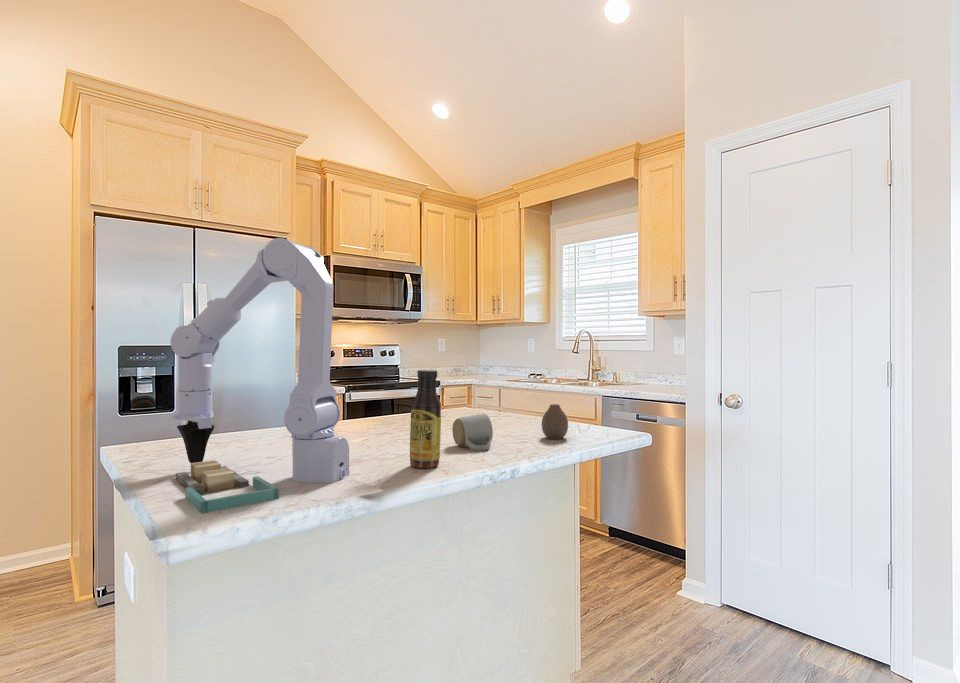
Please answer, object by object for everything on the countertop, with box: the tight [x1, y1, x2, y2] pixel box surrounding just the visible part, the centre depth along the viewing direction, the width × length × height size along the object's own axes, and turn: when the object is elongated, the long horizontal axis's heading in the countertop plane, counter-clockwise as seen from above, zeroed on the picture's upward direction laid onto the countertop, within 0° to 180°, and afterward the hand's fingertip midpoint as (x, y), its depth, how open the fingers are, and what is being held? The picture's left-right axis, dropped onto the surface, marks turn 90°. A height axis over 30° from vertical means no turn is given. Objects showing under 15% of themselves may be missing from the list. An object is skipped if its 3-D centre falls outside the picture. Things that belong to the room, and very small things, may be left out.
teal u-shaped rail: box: [185, 475, 280, 514], centre depth 85 cm, size 10×11×3 cm
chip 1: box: [190, 459, 222, 482], centre depth 97 cm, size 4×4×2 cm
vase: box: [541, 403, 569, 440], centre depth 142 cm, size 7×7×9 cm
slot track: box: [173, 465, 252, 496], centre depth 94 cm, size 14×9×2 cm, turn 40°
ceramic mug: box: [451, 413, 494, 452], centre depth 131 cm, size 11×8×8 cm
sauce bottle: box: [409, 369, 442, 469], centre depth 111 cm, size 7×6×20 cm
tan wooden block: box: [202, 467, 235, 492], centre depth 91 cm, size 4×4×2 cm
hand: (195, 462), depth 102 cm, fingers closed
